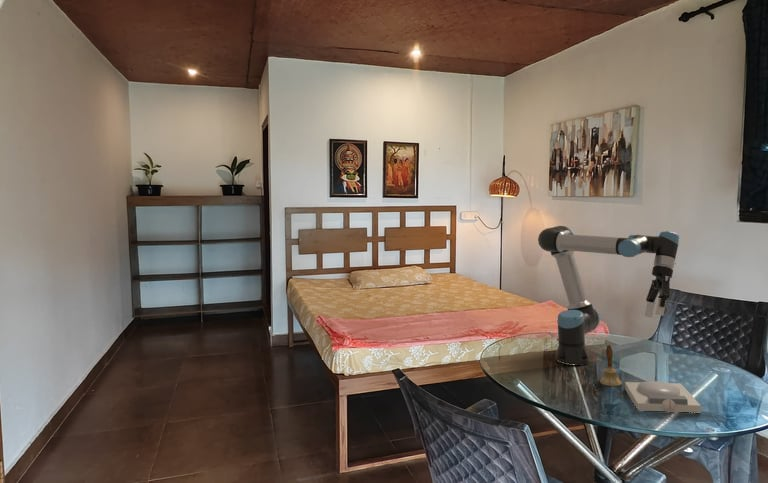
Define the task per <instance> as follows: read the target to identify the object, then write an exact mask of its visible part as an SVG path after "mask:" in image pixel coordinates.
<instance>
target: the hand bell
mask: <svg viewBox="0 0 768 483" xmlns="http://www.w3.org/2000/svg"><path fill="white" fill-rule="evenodd" d="M605 356H606V359H607V368H605V369H604V373H603V377H601V378H600V380H599V382H600V384H602V385H603V386H608V387H618V386H619V387H620V386H622V384H623V383H622V380H620V378H619V376H618V372H617V370H616V369H614V368H613V357H614V350H613V348H612V346H611V344H607V346H606V350H605Z"/></svg>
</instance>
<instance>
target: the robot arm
mask: <svg viewBox="0 0 768 483" xmlns="http://www.w3.org/2000/svg"><path fill="white" fill-rule="evenodd" d="M679 239H680V235H679V234H678V233H677V232H674V231H669V230H668V231H667V230H666V231H661V232H659V235H655V236H652V235H643V234H630V235H629V236H628V237H615V236H614V237H613V236H601V235H600V236H597V235H583V234H582V235H581V234H575V232H574V230H573V229H571V228H570V227H568V226H565V225H557V226H553V227H547V228H545V229H543V230H542V231H540V233H539V234H538V237H537V242H538V245H539V247H540V249H542V250H543V251H546V252H550V255H551V256H552V257H553V258H554V259H555V261H556V264H557V266H558V267H557V268H558V271H559V274H560V277H561V281H562V284H563V287H564V291H565V295H566V298H567V300H568V306H567V310H563V311H561V312H559V313H558V315H557V334H558V335H557V336H558V338H557V339H558V346H557V349H556V352H555V356H554V357H555V360H556V359H557V360H559V361H561V362H564V363H569V364H577V365H581V364H586V365H587V363H588V364H590V362H591V361H590V360H591V359H590V355H589V352H588V350H587V348H586V342H585V339H586V336H585V335H586V334H588V333H591V332H592V331H594V330H596V329H597V327H598V326H599V325H600V322H601V317H600V313H599V311H598V310H597V309H595V308H594V306H593V303H592V302H591V301H589V300H588V299H587V294H586V292H585V288H584V285H583V282H582V278H581V275H580V271H579V268H578V264H577V263H576V258H575V256H574V253H575V252H581V253H593V254H604V255H605V254H606V255H616V256H617V255H619V256H623V257H624V258H634V257H636V256H638V255H641V254H643V253H645V254H647V253H648V254H655V256H654V260H653V267H652V271H651V275H652V276H653V277H655V278H654V279H652V280H651V281H652V282H651V284H650V287H649V290H648V294H647V296H646V299H645V301H646V302H647V303H646V307H645V312H644V317H646V318H650V319H652V318H653V314H654V308H655V305H657V306H656V310H655V315H658V316H662V317H664V315H665V309H666V305H667V300H668V299H669V298H670V294H671V292H670V281H671V279H672V277H673V273H674V267H675V265H676V264H677V263H676V262H675V261H676V258H677V257H676V256H677V251H678V247H679V244H680V242H679V241H680V240H679ZM658 294H659V295H658ZM657 298H658V301H657V304H656V300H657Z"/></svg>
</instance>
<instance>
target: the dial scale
mask: <svg viewBox="0 0 768 483" xmlns="http://www.w3.org/2000/svg"><path fill="white" fill-rule="evenodd" d="M624 389H625V391H626V394H627V396H629V399H630V400H631V402H632V404H633V403H634V404H633V405H634V407H635V406H636V407H635V408H637V409H638V410H650V411H651V410H652V411H670V412H689V413H688V414H695V413H702V412H701V411H702V410H701V408H702V407H701V406H702V405H701V404H700V403H699V402H698V401H697V400H696V398H694V397H693V395H692V394H691V393H690V392H689V391H688V389H687V388H686V387H684V385H683V384H682V383H681V382H680V383H677V382H675V383H673V382H663V381H656V380H655V381H654V380H651V381H650V380H649V381H642V382H640V381H639V382H637V381H636V382H634V381H633V382H632V381H625V382H624ZM637 409H636V410H637ZM638 410H637V411H638ZM690 412H691V413H690ZM693 412H694V413H693Z"/></svg>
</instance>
